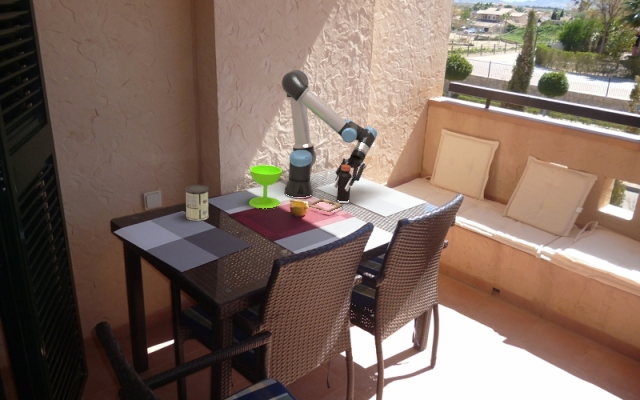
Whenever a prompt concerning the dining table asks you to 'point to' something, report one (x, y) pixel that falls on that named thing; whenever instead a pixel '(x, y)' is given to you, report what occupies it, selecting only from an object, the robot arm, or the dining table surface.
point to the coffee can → (197, 202)
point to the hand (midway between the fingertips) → (340, 188)
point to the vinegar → (343, 183)
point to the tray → (325, 202)
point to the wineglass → (265, 184)
